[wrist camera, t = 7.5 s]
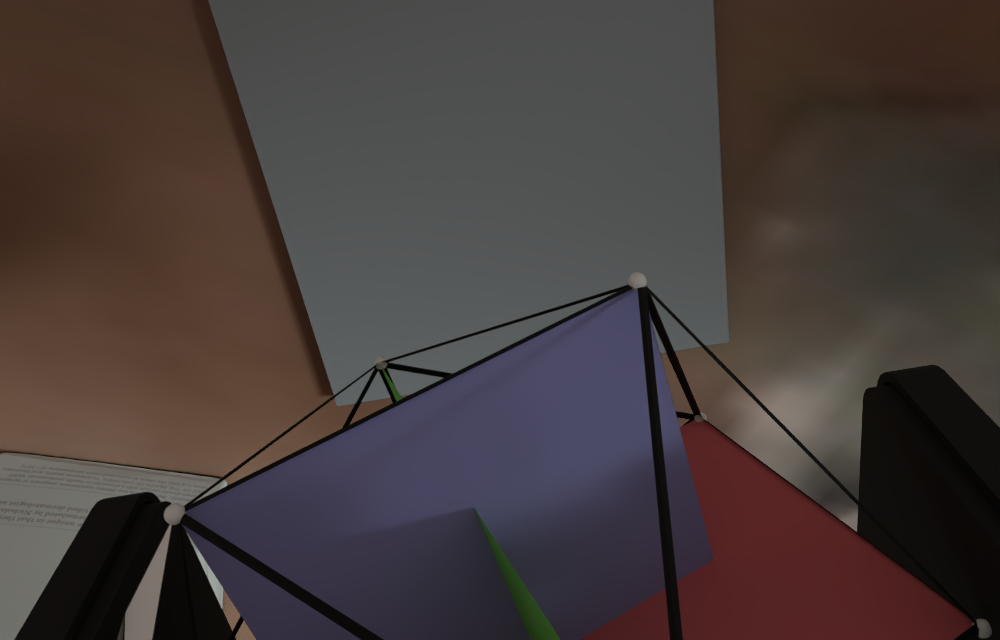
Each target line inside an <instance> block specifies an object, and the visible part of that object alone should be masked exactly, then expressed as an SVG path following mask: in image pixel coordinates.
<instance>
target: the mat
mask: <svg viewBox="0 0 1000 640" xmlns="http://www.w3.org/2000/svg"><path fill="white" fill-rule="evenodd" d="M208 1H209V5H210V8H211V11H212V14H213V17H214V20H215V23H216V27H217V30H218V33H219V36H220V39H221V42H222V45H223V49H224V52H225V55H226V58H227V61H228V64H229V67H230V71H231V74H232V77H233V80H234V83H235V86H236V89H237V93H238V96H239V99H240V102H241V105H242V108H243V111H244V115H245V118H246V121H247V124H248V127H249V130H250V133H251V137H252V140H253V143H254V146H255V149H256V152H257V155H258V159H259V162H260V165H261V168H262V171H263V174H264V177H265V181H266V184H267V187H268V190H269V193H270V196H271V199H272V203H273V206H274V209H275V212H276V215H277V218H278V221H279V225H280V228H281V231H282V234H283V237H284V240H285V243H286V247H287V250H288V253H289V256H290V259H291V262H292V265H293V269H294V272H295V275H296V278H297V281H298V284H299V287H300V291H301V294H302V297H303V300H304V303H305V306H306V309H307V313H308V316H309V319H310V322H311V325H312V328H313V332H314V335H315V338H316V341H317V344H318V347H319V350H320V354H321V357H322V360H323V363H324V366H325V369H326V372H327V376H328V379H329V382H330V385H331V388H332V391H333V394H334V395H335V394H337V393H338V392H339V391H341V390H342V389H343V388H345V387H346V386H347V385H349V384H350V383H352V382H353V381H354V380H356V379H357V378H358V377H360V376H361V375H362V374H364V373H365V372H367V371H368V370H369V369H371V368H372V367H373V366H375V360H376V359H377V358H378V357H384V358H386V359H387V360H388V359H391V358H395V357H398V356H401V355H404V354H407V353H411V352H414V351H417V350H420V349H423V348H427V347H430V346H433V345H436V344H439V343H443V342H446V341H449V340H452V339H455V338H459V337H462V336H465V335H468V334H471V333H475V332H478V331H481V330H484V329H487V328H491V327H494V326H497V325H500V324H503V323H507V322H510V321H513V320H516V319H519V318H523V317H526V316H529V315H532V314H536V313H539V312H542V311H545V310H548V309H552V308H555V307H558V306H561V305H564V304H568V303H571V302H574V301H577V300H580V299H584V298H587V297H590V296H593V295H596V294H600V293H603V292H606V291H609V290H612V289H616V288H619V287H622V286H625V285H628V279H629V277H630V275H631V274H633V273H636V272H639V273H642V274H643V275H644V276H645V277H646V280H647V283H646V286H647V287H648V288H649V289H650V290H651V291H652V292H653V293H654V294H655V295H656V296H657V297H658V298H659V299H660V300H661V301H662V302H663V303H664V304H665V305H666V306H667V307H668V308H669V309H670V310H671V311H672V312H673V313H674V314H675V315H676V316H677V317H678V318H679V319H680V320H681V321H682V322H683V323H684V324H685V325H686V326H687V327H688V329H689V330H690V331H691V332H692V333H693V334H694V335H695V336H696V337H697V338H698V339H699V340H700V341H701V342H702V343H703V344H704V345H705V346H708V345H715V344H721V343H727V342H729V329H728V307H727V286H726V264H725V242H724V220H723V198H722V176H721V154H720V132H719V110H718V88H717V67H716V45H715V23H714V1H713V0H208ZM615 293H616V292H615ZM612 294H614V293H611V294H608V295H605V296H602V297H598V298H595V299H592V300H589V301H585V302H582V303H579V304H576V305H572V306H569V307H566V308H563V309H559V310H556V311H553V312H550V313H546V314H543V315H540V316H537V317H533V318H530V319H527V320H524V321H520V322H517V323H514V324H511V325H507V326H504V327H501V328H498V329H494V330H491V331H488V332H485V333H481V334H478V335H475V336H472V337H468V338H465V339H462V340H459V341H455V342H452V343H449V344H446V345H442V346H439V347H436V348H433V349H430V350H426V351H423V352H420V353H417V354H413V355H410V356H407V357H404V358H400V359H397V360H394V361H391V362H388V363H394V364H400V365H406V366H412V367H418V368H423V369H429V370H435V371H441V372H447V373H455V372H457V371H459V370H461V369H463V368H465V367H467V366H469V365H471V364H473V363H475V362H477V361H479V360H481V359H483V358H485V357H487V356H489V355H491V354H493V353H495V352H497V351H499V350H501V349H503V348H505V347H507V346H509V345H511V344H513V343H515V342H517V341H519V340H521V339H523V338H525V337H527V336H529V335H531V334H533V333H535V332H537V331H539V330H541V329H543V328H545V327H547V326H549V325H551V324H553V323H555V322H557V321H559V320H561V319H563V318H565V317H567V316H569V315H571V314H573V313H575V312H577V311H579V310H582V309H584V308H586V307H588V306H590V305H592V304H594V303H596V302H598V301H600V300H602V299H604V298H606V297H608V296H610V295H612ZM651 297H652V296H651ZM652 299H653V301H654V304H655V306H656V309H657V311H658V313H659V316H660V318H661V320H662V323H663V325H664V328H665V330H666V332H667V335H668V337H669V339H670V342H671V344H672V347H673V349H674V351H678V350H684V349H690V348H696V347H701V346H700V344H699V343H698V342H697V341H696V340H695V339H694V338H693V337H692V336H691V335H690V334H689V333H688V332H687V331H686V330H685V329H684V328H683V327H682V326H681V325H680V324H679V323H678V322H677V321H676V320H675V319H674V318H673V317H672V316H671V315H670V314H669V313H668V312H667V311H666V310H665V309H664V308H663V307H662V306H661V305H660V304H659V303H658V302H657V301H656V300H655V299H654V298H653V297H652ZM651 320H652V319H651ZM652 324H653V322H652ZM653 328H654V331H655V335H656V339H657V343H658V347H659V351H660V353H666V351H665V348H664V346H663V344H662V342H661V339H660V337H659V335H658V333H657V330H656V328H655V326H654V324H653ZM374 369H375V368H374ZM374 369H373V370H371V371H370V372H368V373H367V374H366V375H364V376H363V377H362V378H360V379H359V380H358V381H356V382H355V383H354V384H352V385H351V386H350V387H348V388H347V389H346V390H344V391H343V392H342V393H340V394H339V395H338V396H336V397H335V401H336V404H337V406H343V405H349V404H355V403H356V402H357V400H358V398H359V396H360V395H361V393H362V391H363V389H364V387H365V385H366V383H367V382H368V380H369V378H370V376H371V374H372V372H373V371H374ZM387 370H388V372H389V374H390V376H391V379H392V381H393V383H394V385H395V388H396V389H397V391H398V392H399V394H400V395H401V396H404V395H410V394H413V393H415V392H417V391H419V390H421V389H423V388H425V387H427V386H429V385H431V384H433V383H435V382H437V381H439V380H441V379H443V378H442V377H436V376H430V375H424V374H418V373H412V372H407V371H401V370H395V369H389V368H387ZM386 398H391V397H390V395H389V393H388V391H387V388H386V386H385V384H384V382H383V380H382V377H381V375H380V373H379V371H378V372H377V374H376V376H375V378H374V379H373V381H372V383H371V385H370V387H369V389H368V391H367V392H366V394H365V396H364V398H363V400H362V402H367V401H373V400H379V399H386Z"/></svg>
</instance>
